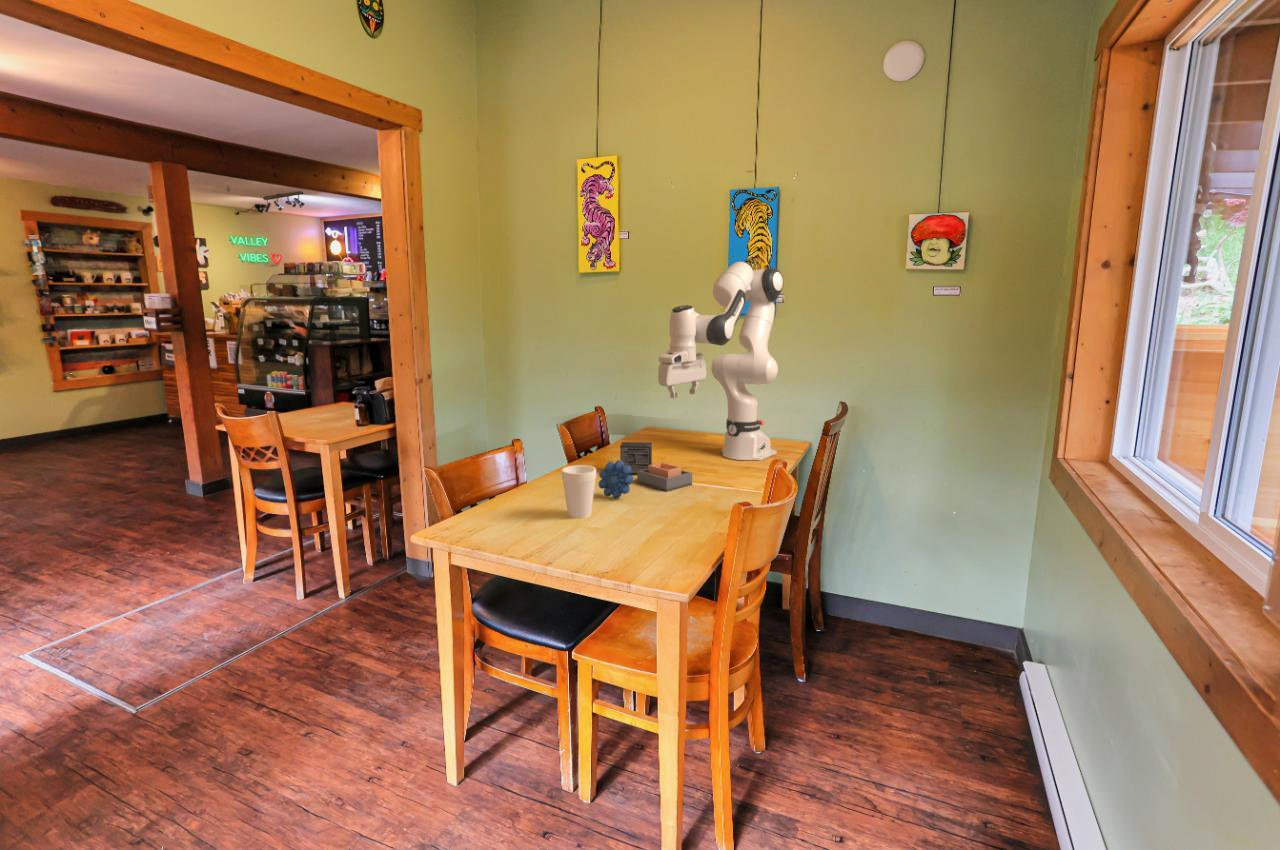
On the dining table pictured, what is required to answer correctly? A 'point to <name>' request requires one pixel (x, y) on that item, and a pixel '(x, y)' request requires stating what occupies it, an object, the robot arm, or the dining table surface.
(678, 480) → the box
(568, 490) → the foam cup
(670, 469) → the small crate
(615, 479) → the grapes
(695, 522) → the dining table surface
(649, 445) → the small box
